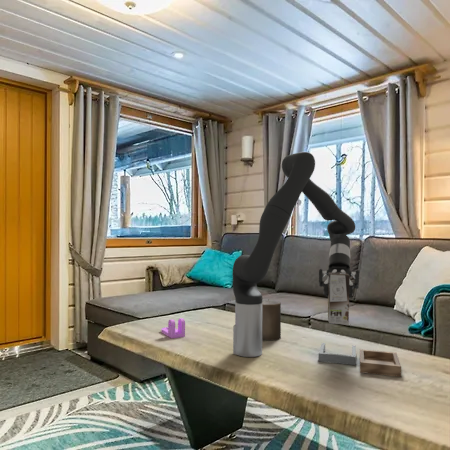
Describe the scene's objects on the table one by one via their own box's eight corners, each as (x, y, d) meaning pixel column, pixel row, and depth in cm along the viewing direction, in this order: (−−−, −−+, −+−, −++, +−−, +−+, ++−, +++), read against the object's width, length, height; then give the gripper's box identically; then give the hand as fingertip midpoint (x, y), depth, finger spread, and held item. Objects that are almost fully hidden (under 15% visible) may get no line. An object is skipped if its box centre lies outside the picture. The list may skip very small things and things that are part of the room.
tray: (360, 372, 119) (360, 362, 119) (359, 358, 133) (359, 349, 133) (401, 376, 116) (401, 366, 116) (396, 361, 129) (396, 352, 129)
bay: (318, 361, 129) (318, 353, 129) (321, 349, 142) (321, 342, 142) (355, 365, 126) (355, 357, 126) (355, 353, 138) (355, 345, 138)
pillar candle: (285, 339, 156) (285, 300, 156) (264, 341, 152) (264, 301, 152) (272, 333, 165) (272, 296, 165) (251, 335, 160) (251, 298, 161)
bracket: (184, 337, 158) (185, 319, 158) (171, 338, 155) (172, 320, 155) (171, 329, 169) (172, 313, 170) (159, 331, 167) (159, 314, 167)
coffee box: (349, 325, 130) (350, 275, 130) (328, 323, 131) (329, 274, 131) (346, 319, 139) (347, 272, 139) (327, 317, 140) (328, 271, 140)
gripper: (318, 251, 147) (315, 287, 135) (360, 252, 142) (360, 290, 131) (319, 264, 152) (316, 301, 140) (360, 266, 147) (360, 304, 136)
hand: (338, 295), depth 136 cm, fingers closed on coffee box, 7 cm apart
